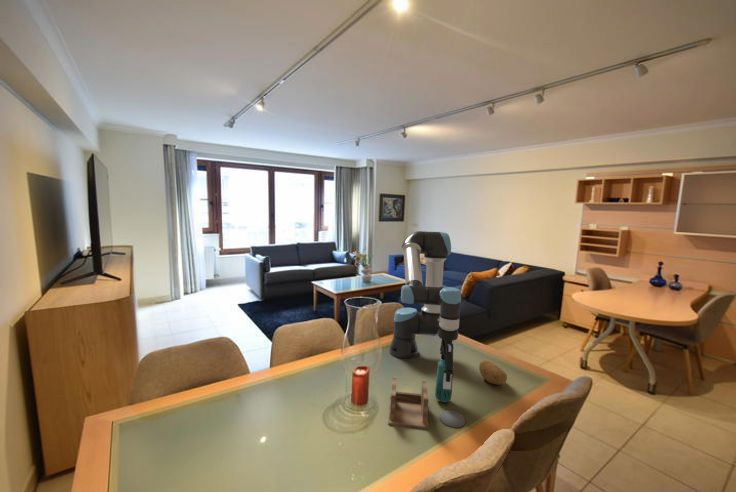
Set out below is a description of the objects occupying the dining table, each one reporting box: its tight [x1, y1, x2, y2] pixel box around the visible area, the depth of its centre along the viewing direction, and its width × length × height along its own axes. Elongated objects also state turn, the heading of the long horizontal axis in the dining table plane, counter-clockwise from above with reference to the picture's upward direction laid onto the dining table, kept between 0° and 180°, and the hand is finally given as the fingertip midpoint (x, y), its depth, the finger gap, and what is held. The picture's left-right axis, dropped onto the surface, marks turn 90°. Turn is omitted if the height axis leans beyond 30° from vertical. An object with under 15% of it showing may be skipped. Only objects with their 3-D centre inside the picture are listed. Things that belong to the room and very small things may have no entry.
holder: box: [387, 377, 429, 430], centre depth 119 cm, size 16×14×10 cm
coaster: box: [438, 409, 466, 429], centre depth 117 cm, size 9×9×1 cm
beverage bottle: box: [434, 352, 455, 403], centre depth 127 cm, size 6×7×20 cm
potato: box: [478, 359, 508, 386], centre depth 144 cm, size 10×14×8 cm
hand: (444, 379), depth 127 cm, fingers open, 13 cm apart
